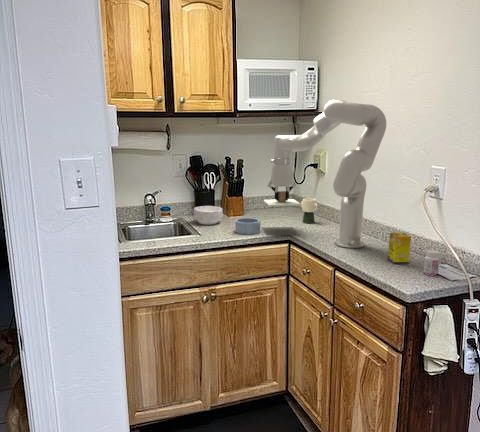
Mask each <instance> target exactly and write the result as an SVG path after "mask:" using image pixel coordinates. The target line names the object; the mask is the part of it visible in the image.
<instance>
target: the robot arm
mask: <svg viewBox="0 0 480 432" xmlns="http://www.w3.org/2000/svg"><path fill="white" fill-rule="evenodd" d="M341 124H346V125H350V126H351V125H353V126H360V127H361V126H363V127H365V128H364V131H363V132H362V133H361V135H360V137H359V140H358V143H357V146H356V147H355V149H354V148H353V149H351V150H349V151H346V153H345V154H344V156H343V157H342V159H341V161H340V164H339V166H338V170H337V172H336V174H335V177H334V180H333V183H332V184H333V185H332V187H333V190H334V193H335V194H336V195H337V196H338V197H340V198H341V201H340V211H339V225H338V226H339V228H338V230H339V231H338V238H337V239H336V240H334V244H335V245H337V246H338V247H342V248H347V249H351V248H352V249H356V248H357V249H358V248H363V247H364V246H365V242H364V241H363V240H362V229H363V228H362V227H363V218H364V217H363V213H364V202H365V196H366V191H367V180H366V178H365V176H364V175H363V174H362V173H363V172H366V171H368V170H370V169H371V168H372V166H373V163H374V161H375V158H376V156H377V154H378V150H379V149H380V146H381V143H382V141H383V138H384V136H385V133H386V129H387V119H386V115H385V113H384V112H383V110H382V109H381V108H379V107H378V106H377V105H373V104H369V103H368V104H367V103H366V104H365V103H357V102H350V101H346V100H342V99H332V100H328V102H327V103H326V104H325V105H324V108H323V112H322V113H319V114H318V115H317V116H316V117H315V118H314V119H313V126H312V127H311V128H310V129H308V130H307V131H306V132H304V133H303V134H293V135H276V136H275V137H274V145H273V146H274V149H273V150H274V151H273V152H274V155H273V157H274V158H273V159H271V161H270V163H273V164H272V166H271V167H272V168H271V178H270V180H269V182H268V184H267V187H268V188H270V189H271V190H272V191H273V192H274V200H276V201H278V191H279V187H285V191H286V201H288V199H290V192H291V191H292V190H293V189H294V188H295V187H297V183H296V182H295V180H294V170H293V169H294V168H293V165H292V164H291V152H292V153H297V152H306V151H308V150H310V149H311V148H313V147H314V146H316V145H317V144H319V143H320V142H321V141H322V140H323V138H324V137H325V136H326V135H327V134H329V133H330V132H331V131H333V130H334V129H335V128H337V127H339V126H340V125H341Z"/></svg>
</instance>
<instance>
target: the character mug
mask: <svg viewBox="0 0 480 432" xmlns="http://www.w3.org/2000/svg"><path fill="white" fill-rule="evenodd" d="M300 204H301V206H300V207H301V209H302V212H304V213H303V217H302V223H304V224H314V223H315V215H314V212H316V211H318V210H319V205H318V203H317V199H316V198H308V197H307V198H305V197H304V198H303V199H302V201H301V202H300Z"/></svg>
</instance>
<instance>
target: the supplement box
mask: <svg viewBox="0 0 480 432" xmlns="http://www.w3.org/2000/svg"><path fill="white" fill-rule="evenodd" d="M388 241H389V242H388V253H387V254H388V255H387V260H388V261H390V262H391V263H392V264H393V265H408V264H410V262H409V261H410V253H411V252H410V249H411V241H412V236H410V235H409V234H407V233H405V232H390V233H389V240H388Z"/></svg>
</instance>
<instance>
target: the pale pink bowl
mask: <svg viewBox="0 0 480 432" xmlns="http://www.w3.org/2000/svg"><path fill="white" fill-rule="evenodd" d="M223 210H224V209H223V208H222V207H220V206H214V205H202V206H201V205H200V206H196V207H194V208H193V219H195V220H197V222H198V223H199V224H200V225H206V226H208V225H209V226H211V225H216V224H218V223H219V221H220V220H221V219H222V218H223Z"/></svg>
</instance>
